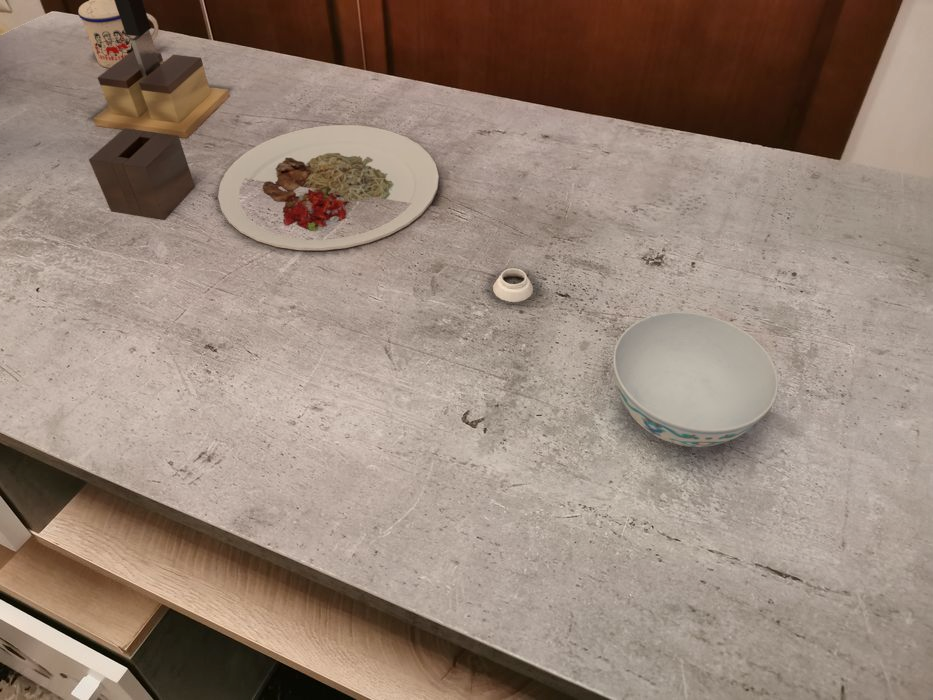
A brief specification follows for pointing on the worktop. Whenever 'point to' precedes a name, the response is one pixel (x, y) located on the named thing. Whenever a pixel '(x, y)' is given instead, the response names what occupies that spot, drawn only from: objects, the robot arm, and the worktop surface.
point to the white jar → (513, 286)
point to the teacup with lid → (108, 31)
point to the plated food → (331, 181)
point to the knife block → (143, 173)
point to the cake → (158, 96)
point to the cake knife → (139, 34)
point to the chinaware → (693, 378)
